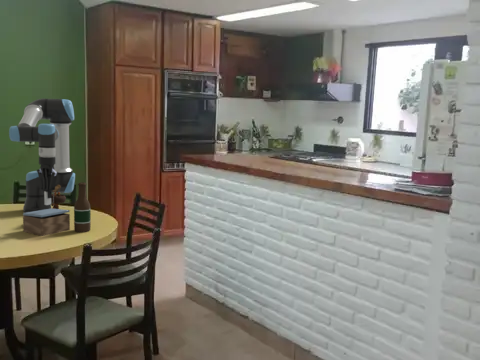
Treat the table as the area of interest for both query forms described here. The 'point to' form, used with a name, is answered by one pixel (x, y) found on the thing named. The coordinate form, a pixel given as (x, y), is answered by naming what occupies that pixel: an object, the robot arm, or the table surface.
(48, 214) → the lid
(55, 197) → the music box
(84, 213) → the beer bottle
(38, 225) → the box
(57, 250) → the table surface
